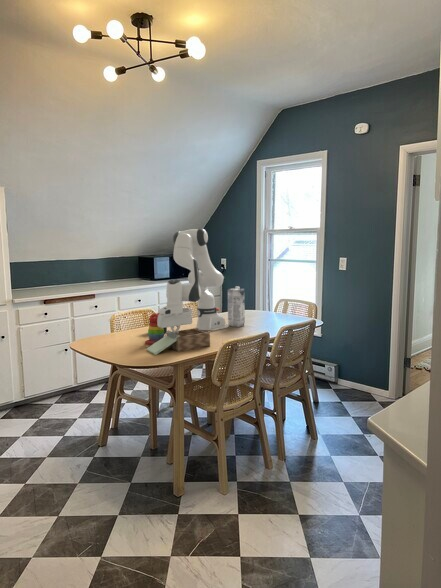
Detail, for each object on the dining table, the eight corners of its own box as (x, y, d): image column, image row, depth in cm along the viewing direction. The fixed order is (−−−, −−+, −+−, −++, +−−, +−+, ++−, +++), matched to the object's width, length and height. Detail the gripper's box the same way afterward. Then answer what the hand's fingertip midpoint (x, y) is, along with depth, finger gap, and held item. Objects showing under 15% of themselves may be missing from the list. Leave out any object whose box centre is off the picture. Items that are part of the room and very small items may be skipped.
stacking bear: (157, 339, 262) (156, 311, 260) (168, 342, 256) (167, 312, 253) (143, 343, 254) (142, 313, 251) (155, 346, 248) (153, 315, 245)
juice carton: (238, 327, 292) (238, 288, 288) (226, 325, 298) (225, 287, 294) (246, 325, 299) (246, 286, 295) (233, 323, 305) (233, 285, 301)
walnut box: (197, 341, 257) (197, 327, 256) (210, 346, 246) (209, 332, 245) (167, 346, 247) (166, 332, 246) (178, 352, 235) (178, 337, 234)
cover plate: (172, 333, 246) (169, 328, 245) (181, 337, 237) (178, 332, 236) (147, 350, 239) (144, 345, 238) (155, 355, 230) (152, 349, 228)
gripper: (188, 306, 247) (189, 330, 249) (155, 310, 236) (156, 335, 238) (194, 308, 241) (194, 332, 243) (160, 312, 231) (161, 337, 233)
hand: (175, 333), depth 241 cm, fingers closed
